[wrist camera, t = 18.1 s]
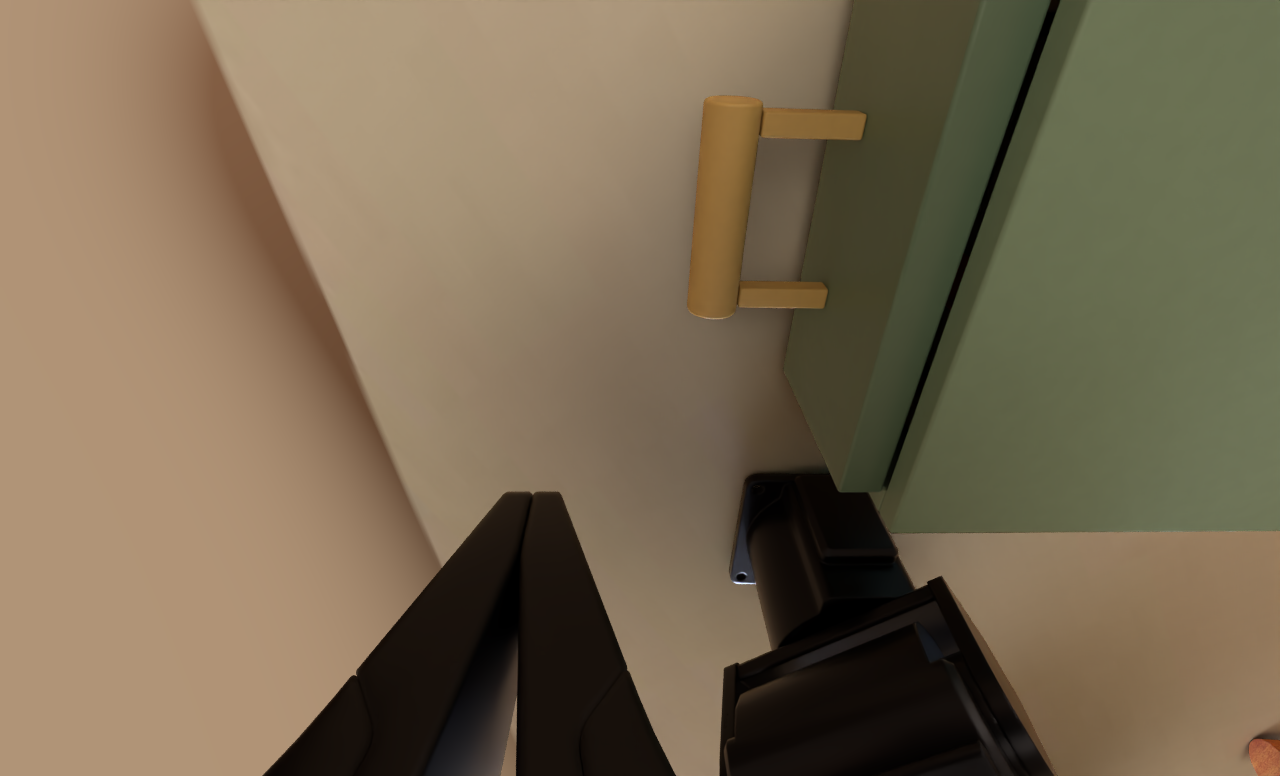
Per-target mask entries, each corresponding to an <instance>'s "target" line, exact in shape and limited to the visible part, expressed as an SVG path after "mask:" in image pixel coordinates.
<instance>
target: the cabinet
mask: <svg viewBox="0 0 1280 776" xmlns="http://www.w3.org/2000/svg"><path fill="white" fill-rule="evenodd" d="M868 493H869V494H870V496H871V498H872V500H873V502H874V504H875V506H876V508H877V510H878V511H880V515H881V517H882V519H883V521H884V523H885V525H886V527H887V529H888V531H889V532H890V533H1027V532H1198V531H1280V0H1060V3H1059V5H1058V8H1057V11H1056V14H1055V17H1054V20H1053V22H1052V25H1051V28H1050V31H1049V34H1048V36H1047V39H1046V42H1045V45H1044V48H1043V51H1042V53H1041V56H1040V59H1039V62H1038V65H1037V68H1036V70H1035V73H1034V76H1033V79H1032V82H1031V85H1030V87H1029V90H1028V93H1027V96H1026V99H1025V102H1024V104H1023V107H1022V110H1021V113H1020V116H1019V119H1018V121H1017V124H1016V127H1015V130H1014V133H1013V136H1012V138H1011V141H1010V144H1009V147H1008V150H1007V153H1006V155H1005V158H1004V161H1003V164H1002V167H1001V169H1000V172H999V175H998V178H997V181H996V184H995V186H994V189H993V192H992V195H991V198H990V201H989V203H988V206H987V209H986V212H985V215H984V218H983V220H982V223H981V226H980V229H979V232H978V235H977V237H976V240H975V243H974V246H973V249H972V252H971V254H970V257H969V260H968V263H967V266H966V269H965V271H964V274H963V277H962V280H961V283H960V286H959V288H958V291H957V294H956V297H955V300H954V302H953V305H952V308H951V311H950V314H949V317H948V319H947V322H946V325H945V328H944V331H943V334H942V336H941V339H940V342H939V345H938V348H937V351H936V353H935V356H934V359H933V362H932V365H931V368H930V370H929V373H928V376H927V379H926V382H925V385H924V387H923V390H922V393H921V396H920V399H919V402H918V404H917V407H916V410H915V413H914V416H913V418H912V421H911V424H910V427H909V429H908V428H907V426H906V425H905V424H904V426H903V429H902V432H901V435H900V438H899V441H898V444H897V447H896V450H895V452H894V455H893V458H892V461H891V464H890V467H889V470H888V473H887V476H886V478H885V481H884V484H883V487H882V490H881V491H880V492H868Z"/></svg>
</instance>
